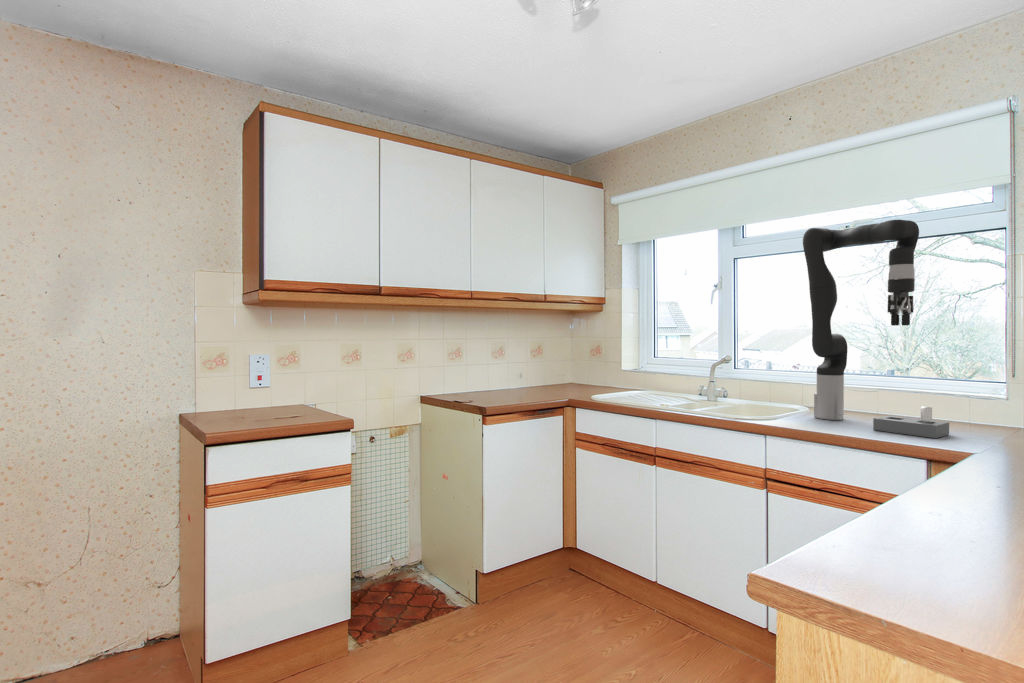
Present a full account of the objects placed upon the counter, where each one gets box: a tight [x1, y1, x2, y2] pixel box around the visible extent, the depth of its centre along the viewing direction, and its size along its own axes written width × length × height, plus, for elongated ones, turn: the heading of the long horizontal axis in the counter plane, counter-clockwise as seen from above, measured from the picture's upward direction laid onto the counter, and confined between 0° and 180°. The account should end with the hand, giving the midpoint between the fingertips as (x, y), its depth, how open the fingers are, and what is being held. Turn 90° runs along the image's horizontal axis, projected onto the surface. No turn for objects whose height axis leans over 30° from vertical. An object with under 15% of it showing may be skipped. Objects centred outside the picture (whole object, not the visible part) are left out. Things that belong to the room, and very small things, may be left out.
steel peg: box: [920, 406, 933, 424], centre depth 180 cm, size 3×3×9 cm
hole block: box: [872, 414, 950, 439], centre depth 183 cm, size 18×11×4 cm, turn 34°
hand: (900, 325), depth 187 cm, fingers open, 8 cm apart
